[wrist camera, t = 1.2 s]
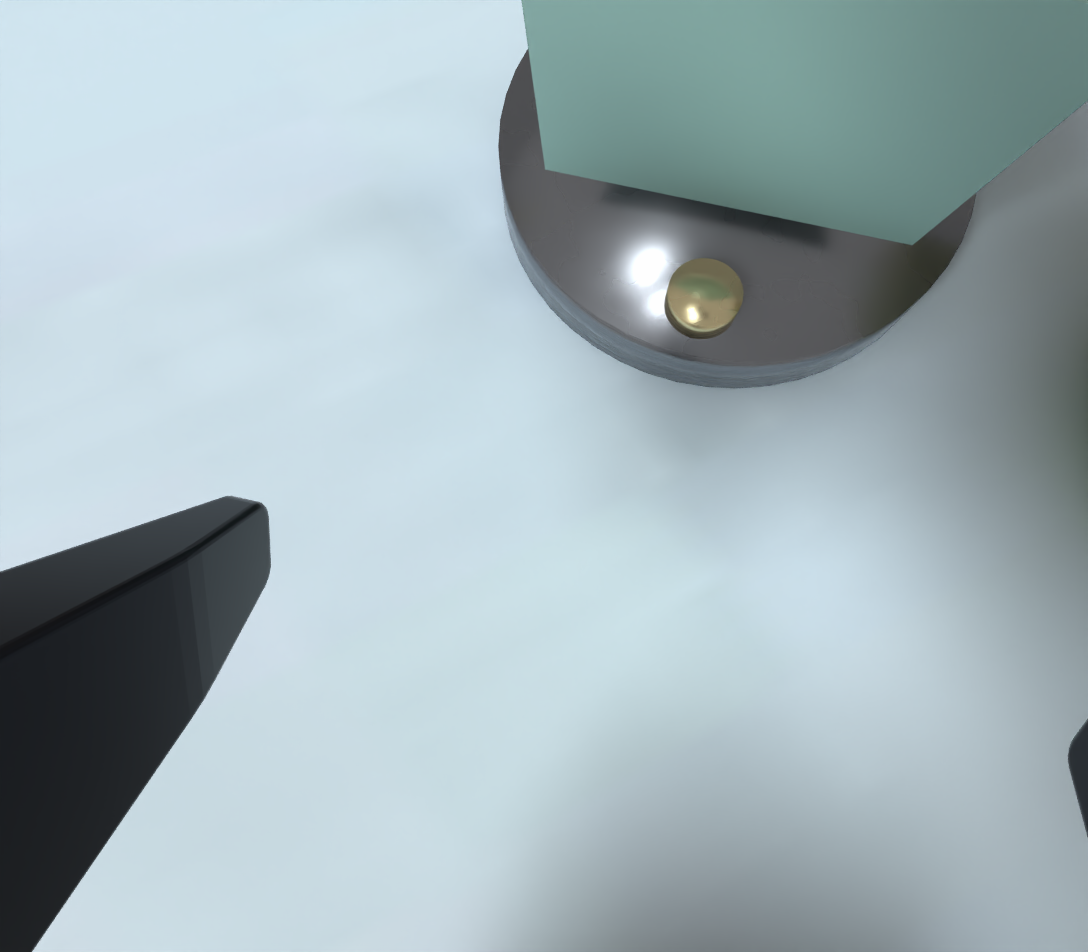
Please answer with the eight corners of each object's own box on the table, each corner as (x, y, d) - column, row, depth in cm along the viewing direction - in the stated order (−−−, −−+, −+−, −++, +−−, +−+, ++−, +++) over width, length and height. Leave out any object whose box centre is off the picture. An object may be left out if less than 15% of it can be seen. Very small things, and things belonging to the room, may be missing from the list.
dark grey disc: (913, 435, 22) (965, 402, 19) (452, 330, 23) (437, 285, 20) (965, 48, 25) (1016, -28, 22) (560, -28, 26) (561, -108, 23)
